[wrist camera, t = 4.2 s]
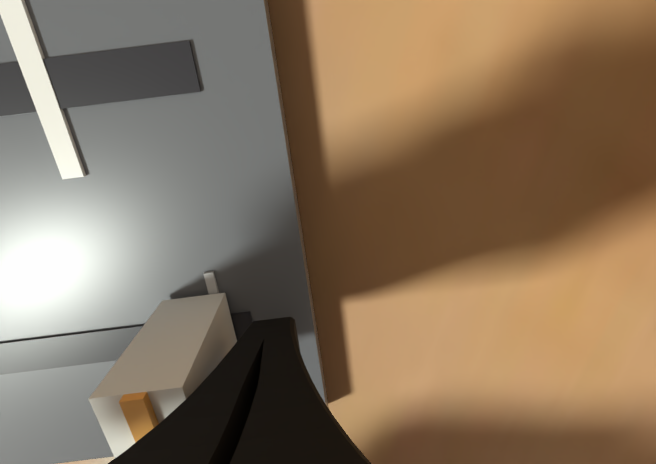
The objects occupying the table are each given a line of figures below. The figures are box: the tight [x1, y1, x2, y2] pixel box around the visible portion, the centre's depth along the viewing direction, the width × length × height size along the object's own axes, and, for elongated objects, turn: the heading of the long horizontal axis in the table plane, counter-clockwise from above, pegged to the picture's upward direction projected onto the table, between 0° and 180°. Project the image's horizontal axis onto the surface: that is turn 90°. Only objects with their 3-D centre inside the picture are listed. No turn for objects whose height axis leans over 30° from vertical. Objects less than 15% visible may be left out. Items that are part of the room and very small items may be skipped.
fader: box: [89, 293, 237, 458], centre depth 10 cm, size 3×2×4 cm, turn 6°
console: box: [0, 0, 328, 464], centre depth 11 cm, size 18×18×1 cm
